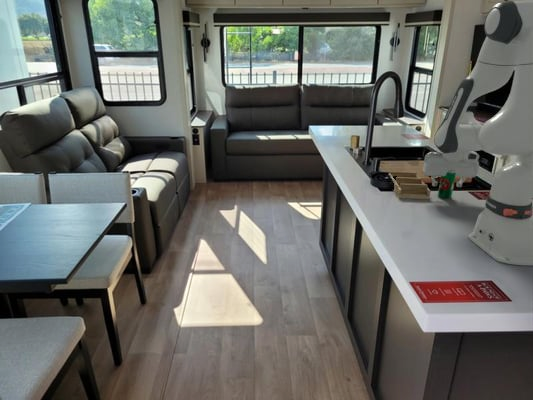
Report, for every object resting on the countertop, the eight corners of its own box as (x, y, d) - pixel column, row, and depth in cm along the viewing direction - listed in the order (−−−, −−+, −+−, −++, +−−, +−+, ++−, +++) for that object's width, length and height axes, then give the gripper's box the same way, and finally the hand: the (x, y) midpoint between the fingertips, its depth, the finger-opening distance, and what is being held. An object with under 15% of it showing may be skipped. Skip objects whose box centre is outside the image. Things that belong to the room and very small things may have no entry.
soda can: (452, 199, 153) (458, 171, 148) (438, 198, 154) (444, 170, 149) (449, 195, 157) (455, 167, 153) (436, 194, 158) (441, 166, 154)
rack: (428, 199, 153) (431, 187, 151) (398, 198, 154) (400, 186, 152) (414, 181, 172) (416, 170, 170) (387, 180, 172) (389, 169, 170)
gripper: (428, 154, 146) (422, 188, 152) (483, 155, 145) (475, 189, 150) (423, 149, 152) (417, 182, 157) (476, 151, 150) (469, 184, 156)
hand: (446, 186), depth 154 cm, fingers open, 8 cm apart
